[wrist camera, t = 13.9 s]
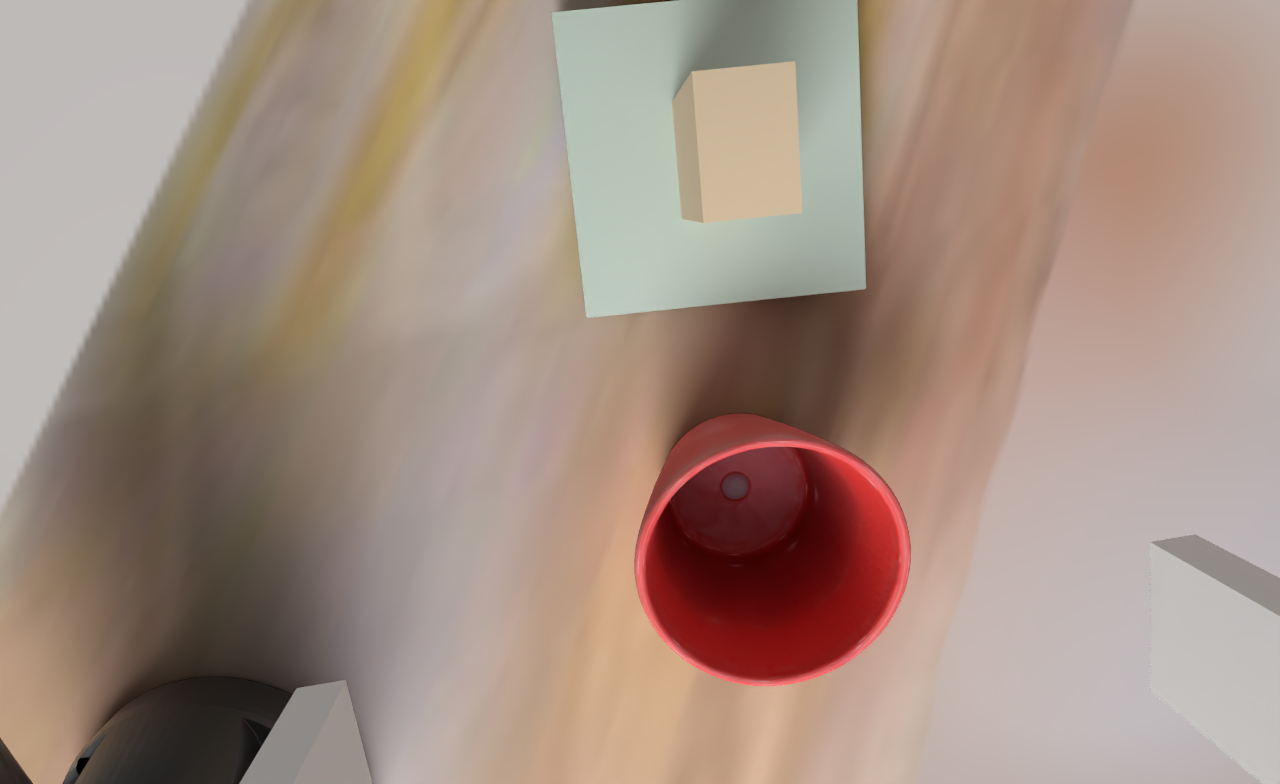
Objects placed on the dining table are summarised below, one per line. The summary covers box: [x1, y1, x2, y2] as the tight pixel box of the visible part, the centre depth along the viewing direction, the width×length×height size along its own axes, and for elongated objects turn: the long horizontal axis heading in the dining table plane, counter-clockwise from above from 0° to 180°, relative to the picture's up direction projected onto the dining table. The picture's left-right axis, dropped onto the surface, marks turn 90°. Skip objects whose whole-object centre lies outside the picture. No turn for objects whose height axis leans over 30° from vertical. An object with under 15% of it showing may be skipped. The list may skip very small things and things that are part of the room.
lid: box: [551, 0, 866, 318], centre depth 32 cm, size 13×13×10 cm
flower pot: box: [634, 413, 911, 686], centre depth 36 cm, size 11×11×10 cm
